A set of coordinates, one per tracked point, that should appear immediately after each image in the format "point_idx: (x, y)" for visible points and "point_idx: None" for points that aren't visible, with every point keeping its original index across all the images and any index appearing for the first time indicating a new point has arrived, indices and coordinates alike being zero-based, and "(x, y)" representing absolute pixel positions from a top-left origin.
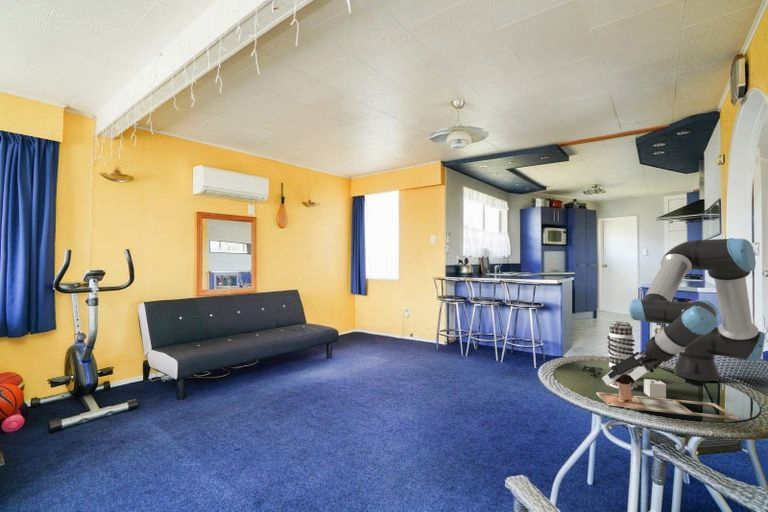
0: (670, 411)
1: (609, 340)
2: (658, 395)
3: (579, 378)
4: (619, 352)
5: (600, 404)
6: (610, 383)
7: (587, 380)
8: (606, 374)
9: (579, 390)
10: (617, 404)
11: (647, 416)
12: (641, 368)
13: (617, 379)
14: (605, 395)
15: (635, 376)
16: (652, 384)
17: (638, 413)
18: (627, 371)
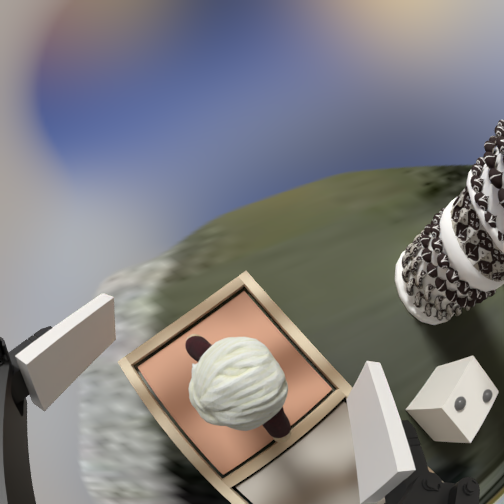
0: None
1: None
2: (427, 427)
3: (366, 172)
4: (501, 203)
5: (123, 335)
6: (103, 348)
7: (374, 192)
8: (73, 313)
9: (231, 219)
10: (169, 384)
11: (141, 490)
12: (380, 461)
13: (196, 358)
14: (251, 307)
15: (356, 409)
16: (443, 415)
17: (144, 464)
18: (210, 421)
